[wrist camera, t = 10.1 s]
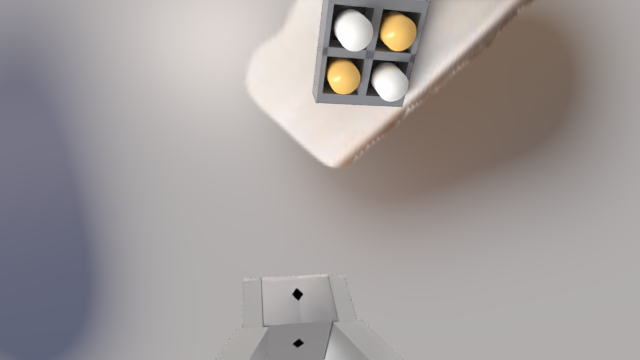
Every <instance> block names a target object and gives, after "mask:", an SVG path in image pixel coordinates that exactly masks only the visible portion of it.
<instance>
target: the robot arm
mask: <svg viewBox="0 0 640 360" xmlns="http://www.w3.org/2000/svg"><path fill="white" fill-rule="evenodd" d="M242 307H243V309H242V328H239V329H236V331H235V332H234V334H233V335H232V337H231V338H230V340H229V341H228V343H227V344H226V346H225V347H224V349H223V350H222V351H221V353H220V354H219V356H218V357H217V359H216V360H403V359H402V358H401V357H400V356H399V355H398V354H397V353H396V352H395V351H394V350H393V349H392V348H391V347H390V346H388V344H387V343H385V342H384V341H383V340H382V339H381V338H380V337H379V336H378V335H377V334H376V333H375V332H374V331H373V330H372V329H371V328H370V327H369V326H368V325H367V324H366V323H365V322H363V320H357V317H356V314H355V310H354V306H353V303H352V299H351V296H350V292H349V289H348V285H347V282H346V278H345V276H344V274H327V275H326V274H319V275H303V276H302V275H301V276H294V277H254V278H253V277H250V278H243V306H242Z"/></svg>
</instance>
